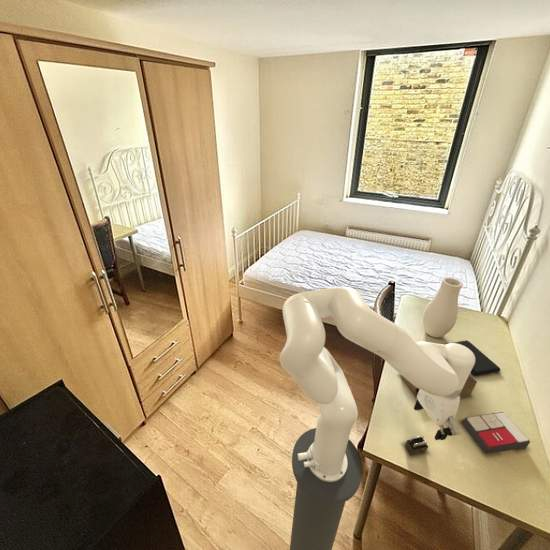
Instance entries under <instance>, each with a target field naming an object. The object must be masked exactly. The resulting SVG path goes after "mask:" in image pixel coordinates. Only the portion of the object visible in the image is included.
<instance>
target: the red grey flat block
mask: <svg viewBox="0 0 550 550" xmlns="http://www.w3.org/2000/svg"><path fill="white" fill-rule="evenodd" d="M462 425H463V426H464V427H465V429H466V430H467V432H468V433H469V434H470V436H471V437H472V438H473V440H474V441H475V442H476V444H477V445H478V446H479V448H480V449H481V450H482V452H483V454H485V455H489V454H494V453H495V454H496V453H501V452H506V451H512V450H513V451H515V450H516V451H518V450H524V449H527V448H528V446H529V445H530V443H531V440H529V438H528V437H527V436H526V435H525V434H524V433H523V431H522V430H521V429H520V428H519V427H518V425H516V424H515V423H514V422H513V421H512V420H511V418H510V417H509V416H508V415H507V414H506V413H505V412H504V411H500V412H498V411H497V412H492V413H487V414H486V413H485V414H481V415H474V416H473V415H472V416H466V417H464V419H463V421H462Z"/></svg>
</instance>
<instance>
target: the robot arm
mask: <svg viewBox="0 0 550 550" xmlns="http://www.w3.org/2000/svg"><path fill="white" fill-rule="evenodd" d="M329 317H332V319H333V322H334V324H335V327H336V328H337V330H338V332H339V333H340V334H341V336H342V337H344V338H345V339H346V340H348V341H349V342H352V343H354V344H356V345H357V346H359V347H361V348H363V349H365V350H367V351H369V352H371V353H373V354H375V355H376V356H379V357H380V358H382V359H383V360H384V361H385V362H386V363H387V364H388V365H389V366H390V367H391V368H393V369H394V370H395V371H396V372H397V373H399V374H400V376H401V375H402V376H403V377H404V378H406V379H407V380H408V381H409V382H410V383H412V384H413V385H414V386H416V394H417V396H415V404H414V406H413V410H414V411H420V410H424V411H425V413H426V414H427V415H428V416H429V418H430V419H431V420H432V422H433V423H434V424H435V425H436V426H438V427H439V429H438V430H437V431H436V433H435V435H434V440H435V441H439V440H440V441H444V440H446V439H447V437H448V436H449V437H452V436H458V435H461V431H460V428H459V427H458V424H457V422H456V419H455V418H456V417H457V414H458V411H459V407H460V403H461V398H460V396H459V395H460V393H461V391H462V389H463V386H464V384H465V382H466V380H467V378H468V376H469V374H470V375H471V370H472V368H473V366H474V364H475V356H474V354H473V352H472V351H471V350H470V349H468V348H467V347H465V346H463V345H460V344H456V343H455V342H449V343H446V344H442V343H437V342H436V343H435V342H430V341H415V340H414V338H412V337H411V335H410V334H409V333H408V332H407V331H406V330H405V329H404V328H402V327H401V326H400V325H399V324H397V323H394V321H391V320H389V318H386V317H384V316H383V315H381V314H379V313H378V312H377V311H374V310H373V309H372V308H370V307H369V306H368V304H367V302H366V301H365V299H364V298H363V297H362V295H361V293H360V292H359V291H358V290H357V289H355V288H352V287H347V286H339V287H328V288H323V289H321V288H320V289H316V290H309V291H303V292H299V293H295V294H293V295H291V296H289V297H288V298H287V299H286V300H285V301H284V303H283V305H282V318H283V323H284V327H285V328H284V329H285V334H286V341H285V345H284V346H283V348H282V350H281V352H280V354H279V358H278V359H279V363H280V366H281V367H282V369H283V371H285V372H286V373H287V374H288V375H289V376H290V378H291V379H292V380H293V381H294V383H295V384H296V385H297V386H298V387H299V388H300V390H302V391H303V393H304V394H305V395H306V396H307V397H308V399H310V400H311V401H313V402H314V403H316V404H318V406H319V412H320V415H319V416H318V418H317V421H316V425H315V428H316V433H315V440H314V443H313V444H312V445H311V446H310V448H309V450H308V451H307V452H305V453H299V454H298V460H299V461H301V460H304V459H307V462H304V467H309V468H310V470H311V471H312V473H313V474H314V475H315V476H316V477H317V478H319V479H320V480H323V481H326V482H335V481H338V480H340V479H341V478H342V477H343V476H344V475H345V473H346V470H347V465H348V462H347V457H346V454H345V452H346V448H347V444H348V439H349V440H350V435H351V431H352V429H353V427H354V425H355V424H356V422H357V420H358V418H359V417H358V416H359V412H358V407H357V403H356V401H355V397H354V395H353V393H352V390H351V388H350V386H349V383H348V380H347V378H346V375H345V374H344V371H343V370H342V368H341V367H340V365H339V364H338V362H337V361H336V360H335V358H334V357H333V355H332V354H331V353H330V351H329V350H328V349H327V348H326V347H325V344H326V335H327V334H326V330H325V329H326V328H325V326H324V323H323V321H322V319H323V318H329ZM444 425H445V426H446V427H445V426H444ZM323 477H324V478H323Z"/></svg>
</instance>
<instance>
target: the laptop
mask: <svg viewBox="0 0 550 550" xmlns="http://www.w3.org/2000/svg"><path fill="white" fill-rule="evenodd" d="M454 343H456V344H460V345H463V346H465V347H467V348H468V349H470V350H471V351H472V352H473V354H474V356H475V364H474V366H473V368H472V370H471V372H470V374H471V375H472V376H474V377H479V376H485V375H490V374H494V373H499V372H501V367H499V366H498V365H497V364H496V363H495V362H493V361H492V359H490V358H489V357H488V356H487V355H485V353H484V352H482V351H481V350H480V349H478V348H477V347H476V346H475V345H474V344H473V343H472V342H471V341H469V340H462V341H456V342H455V341H454Z"/></svg>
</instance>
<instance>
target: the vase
mask: <svg viewBox="0 0 550 550" xmlns="http://www.w3.org/2000/svg"><path fill="white" fill-rule="evenodd" d="M463 286H464V284H463V281H461V280H459V279H457V278H455V277H451V276H450V277H443V278H442V279H441V283H440V286H439V287H438V290H437V292H436V293H435V294H434V296H433V297H432V298H431V300H430V301H429V303H427V305H426V307H425V308H424V311H423V314H422V327H423V329H424V331H425V333H426V334H427V335H429V336H430V337H433V338H442V337H445V336H446V335H447V334H449V333H450V332H451V331H452V329H453V328H454V327H455V325H456V323H457V320H458V315H459V314H458V313H459V310H458V309H459V296H460V292H461V289H462V288H463Z"/></svg>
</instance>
